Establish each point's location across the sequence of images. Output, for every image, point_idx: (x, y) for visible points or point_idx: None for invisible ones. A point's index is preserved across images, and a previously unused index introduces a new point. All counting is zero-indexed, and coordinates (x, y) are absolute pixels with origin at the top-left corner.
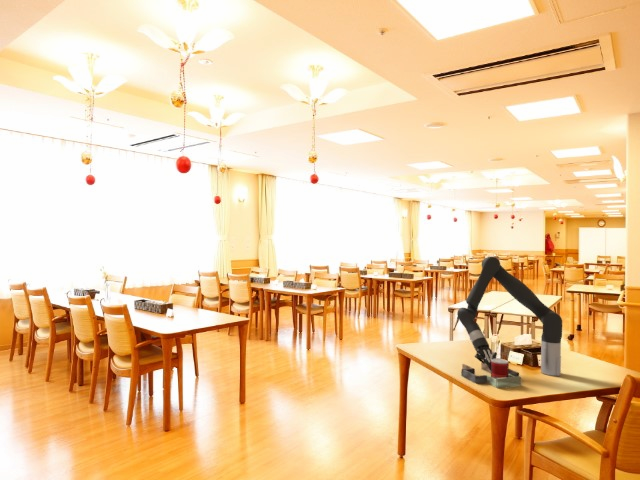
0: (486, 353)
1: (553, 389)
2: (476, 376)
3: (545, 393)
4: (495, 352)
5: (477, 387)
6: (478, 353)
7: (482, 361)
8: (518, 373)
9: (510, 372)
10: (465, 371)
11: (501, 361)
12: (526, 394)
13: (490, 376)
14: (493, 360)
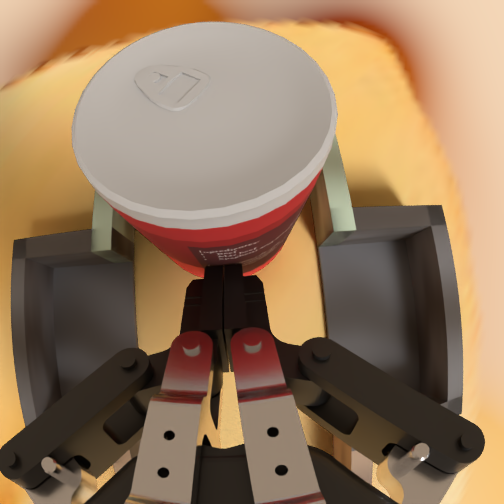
0: (254, 488)
1: (29, 101)
2: (440, 211)
3: (104, 55)
4: (10, 472)
5: (427, 166)
6: (419, 496)
7: (335, 401)
8: (20, 239)
9: (35, 320)
10: (461, 358)
11: (179, 89)
12: None
13: (327, 185)
14: (294, 136)
